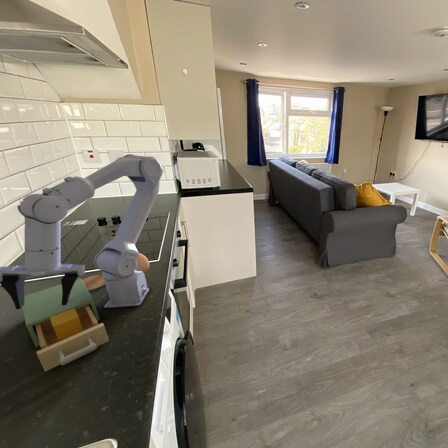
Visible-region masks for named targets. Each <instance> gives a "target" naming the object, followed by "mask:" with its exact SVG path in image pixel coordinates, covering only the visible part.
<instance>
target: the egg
mask: <svg viewBox="0 0 448 448" xmlns="http://www.w3.org/2000/svg"><path fill="white" fill-rule="evenodd" d="M138 253H139V255H138V257H137V266H136V269H135V270H136V271H142V272H143V273H144V274H145V275H146V274H147V272H148V271H149V269H150V262H149V259H148V258H147V256H145V255H144V254H143V253H140V252H138Z"/></svg>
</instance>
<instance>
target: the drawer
mask: <svg viewBox="0 0 448 448" xmlns="http://www.w3.org/2000/svg"><path fill="white" fill-rule="evenodd" d="M75 310H76V312H77V314H78V317H79V319H80V322H81V325H82V328H83V332H80V333H78V334H76V335H74V336H71V337H69V338H67V339H64V340H62V341H60V342H59V341H58V338H57V336H56V333H55V331H54V328H53V326H52V323H51V320H50V319H49V320H46V321H44V322H41V323H39V324H36V325H35V326H36V330H37V334H38V338H39V342H40V346H39V347H40V349H39V350H37V351H36V355H37V358H38V360H39V362H40V365H41V366H42V369H43V370H44V372H47V371H49V370H51V369H53V368H56V367H58V366H60V365H61V367H63V366H65V365H67V364H69V363H71V362H73V361H75V360H77V359H79V358H81V357H83V356H86V355H88V354H90V353H92V352H93V351H95V350H97V349H98V347H99V346H101V345H103V344H105V343H107V342H109V341H110V339H109V337H108V334H107V330H106V326H105V324H104V323H103V322H101V323H99V322H98V321H97V320H96V318H95V316H94V315H93V313H92V311H91V309H90V307H89V306H88V305H86V306H83V307H80V308H78V309H75Z"/></svg>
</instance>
